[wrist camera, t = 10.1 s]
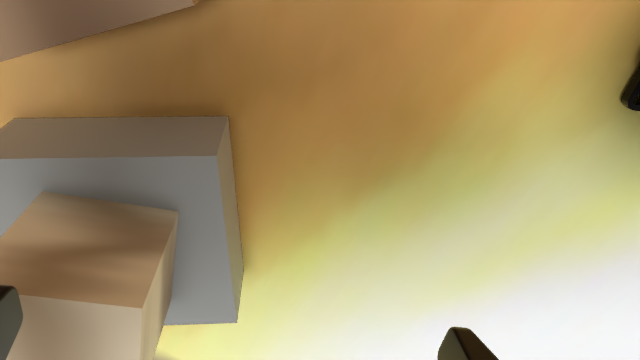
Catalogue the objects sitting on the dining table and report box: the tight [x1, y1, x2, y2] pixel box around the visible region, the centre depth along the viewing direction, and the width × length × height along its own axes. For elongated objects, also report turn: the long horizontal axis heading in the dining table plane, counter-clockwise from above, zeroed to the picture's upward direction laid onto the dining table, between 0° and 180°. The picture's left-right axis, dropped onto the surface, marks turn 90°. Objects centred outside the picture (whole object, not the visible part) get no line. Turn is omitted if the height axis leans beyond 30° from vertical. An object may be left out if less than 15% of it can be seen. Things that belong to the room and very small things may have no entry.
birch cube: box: [0, 191, 179, 360], centre depth 16 cm, size 5×5×5 cm
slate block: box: [0, 116, 244, 325], centre depth 20 cm, size 9×9×4 cm
